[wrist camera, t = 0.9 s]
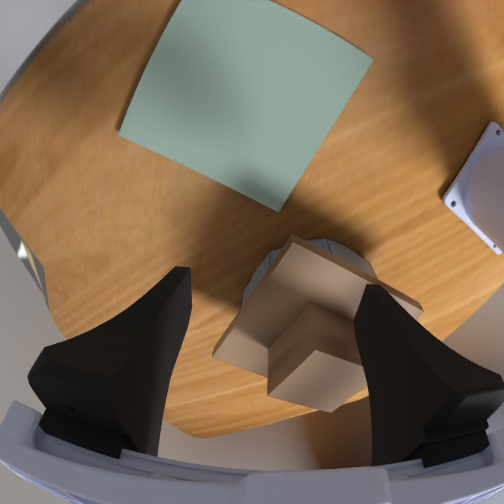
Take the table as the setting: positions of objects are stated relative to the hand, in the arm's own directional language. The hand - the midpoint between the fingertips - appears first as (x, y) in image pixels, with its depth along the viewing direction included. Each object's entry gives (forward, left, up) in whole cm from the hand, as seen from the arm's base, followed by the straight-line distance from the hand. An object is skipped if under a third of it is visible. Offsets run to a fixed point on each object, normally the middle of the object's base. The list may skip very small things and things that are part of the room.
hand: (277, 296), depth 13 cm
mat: (+6, -6, -10) cm, 13 cm away
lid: (-6, +5, -6) cm, 10 cm away
